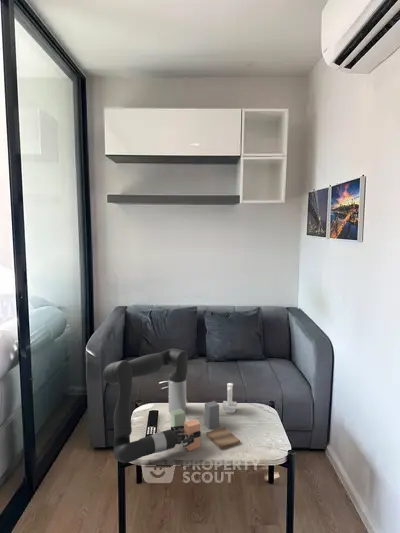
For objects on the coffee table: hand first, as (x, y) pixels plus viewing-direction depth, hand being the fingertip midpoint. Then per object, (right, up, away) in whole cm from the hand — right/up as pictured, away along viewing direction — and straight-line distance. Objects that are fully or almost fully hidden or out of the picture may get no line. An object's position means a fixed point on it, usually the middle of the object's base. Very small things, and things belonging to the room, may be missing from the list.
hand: (197, 430), depth 167 cm
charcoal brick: (+7, -5, +17) cm, 19 cm away
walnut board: (+12, -6, +5) cm, 14 cm away
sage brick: (-9, -6, +9) cm, 14 cm away
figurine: (+17, -4, +32) cm, 36 cm away
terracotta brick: (-2, -7, -1) cm, 7 cm away
